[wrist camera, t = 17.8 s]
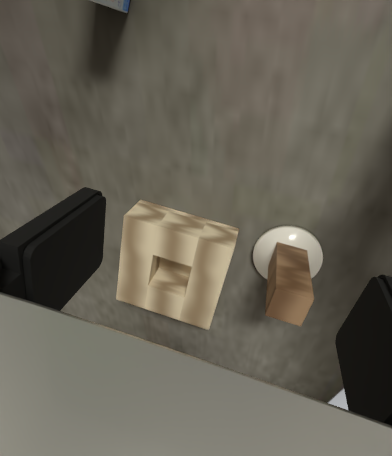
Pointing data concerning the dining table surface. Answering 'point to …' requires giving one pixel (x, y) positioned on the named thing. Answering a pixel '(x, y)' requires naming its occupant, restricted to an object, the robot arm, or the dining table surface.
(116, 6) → the medicine box
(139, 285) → the birch pocket block
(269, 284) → the walnut peg
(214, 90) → the dining table surface
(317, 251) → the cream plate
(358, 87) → the dining table surface
